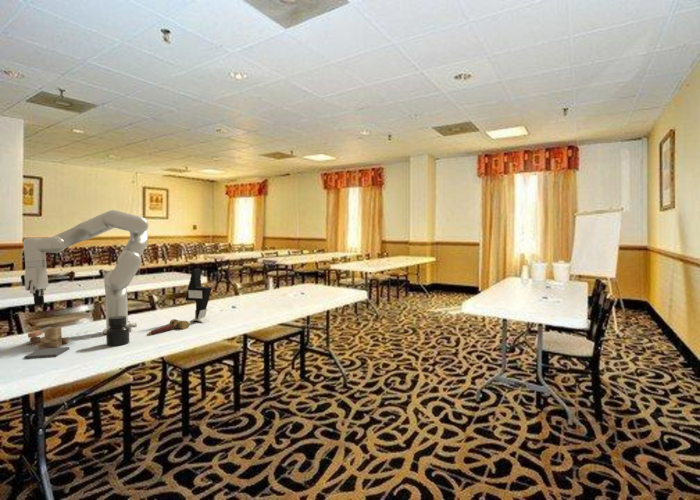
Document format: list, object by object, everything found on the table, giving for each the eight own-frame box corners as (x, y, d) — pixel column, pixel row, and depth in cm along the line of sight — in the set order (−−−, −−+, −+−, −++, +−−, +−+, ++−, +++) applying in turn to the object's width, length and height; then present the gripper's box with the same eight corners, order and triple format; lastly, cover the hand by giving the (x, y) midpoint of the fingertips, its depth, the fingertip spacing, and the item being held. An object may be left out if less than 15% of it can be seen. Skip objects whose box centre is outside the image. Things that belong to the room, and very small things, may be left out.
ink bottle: (132, 340, 181) (131, 314, 181) (128, 345, 173) (127, 318, 173) (108, 342, 178) (107, 316, 178) (103, 347, 170) (102, 320, 170)
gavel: (153, 331, 187) (139, 329, 192) (154, 340, 187) (140, 338, 192) (189, 319, 206) (176, 318, 210) (189, 328, 206) (176, 326, 211)
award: (185, 321, 222) (184, 268, 221) (192, 319, 227) (191, 268, 226) (206, 323, 216) (205, 269, 216) (212, 321, 221) (211, 268, 220)
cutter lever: (53, 329, 189) (53, 325, 189) (35, 337, 174) (35, 333, 174) (46, 329, 188) (46, 326, 188) (28, 337, 174) (28, 333, 174)
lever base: (59, 335, 193) (59, 327, 193) (39, 344, 175) (38, 336, 175) (48, 335, 192) (48, 327, 192) (26, 345, 174) (26, 336, 174)
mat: (69, 349, 168) (69, 346, 168) (55, 356, 157) (55, 354, 157) (40, 351, 165) (39, 348, 165) (24, 358, 155) (24, 356, 155)
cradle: (67, 342, 178) (67, 337, 178) (56, 348, 169) (56, 342, 169) (50, 343, 177) (50, 338, 177) (38, 349, 168) (38, 343, 167)
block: (61, 344, 176) (61, 326, 175) (56, 347, 171) (56, 329, 171) (50, 345, 175) (49, 327, 174) (44, 347, 170) (44, 329, 170)
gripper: (36, 264, 185) (39, 302, 186) (16, 266, 170) (19, 308, 171) (54, 263, 186) (57, 301, 187) (36, 265, 172) (39, 307, 173)
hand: (39, 304), depth 179 cm, fingers closed
